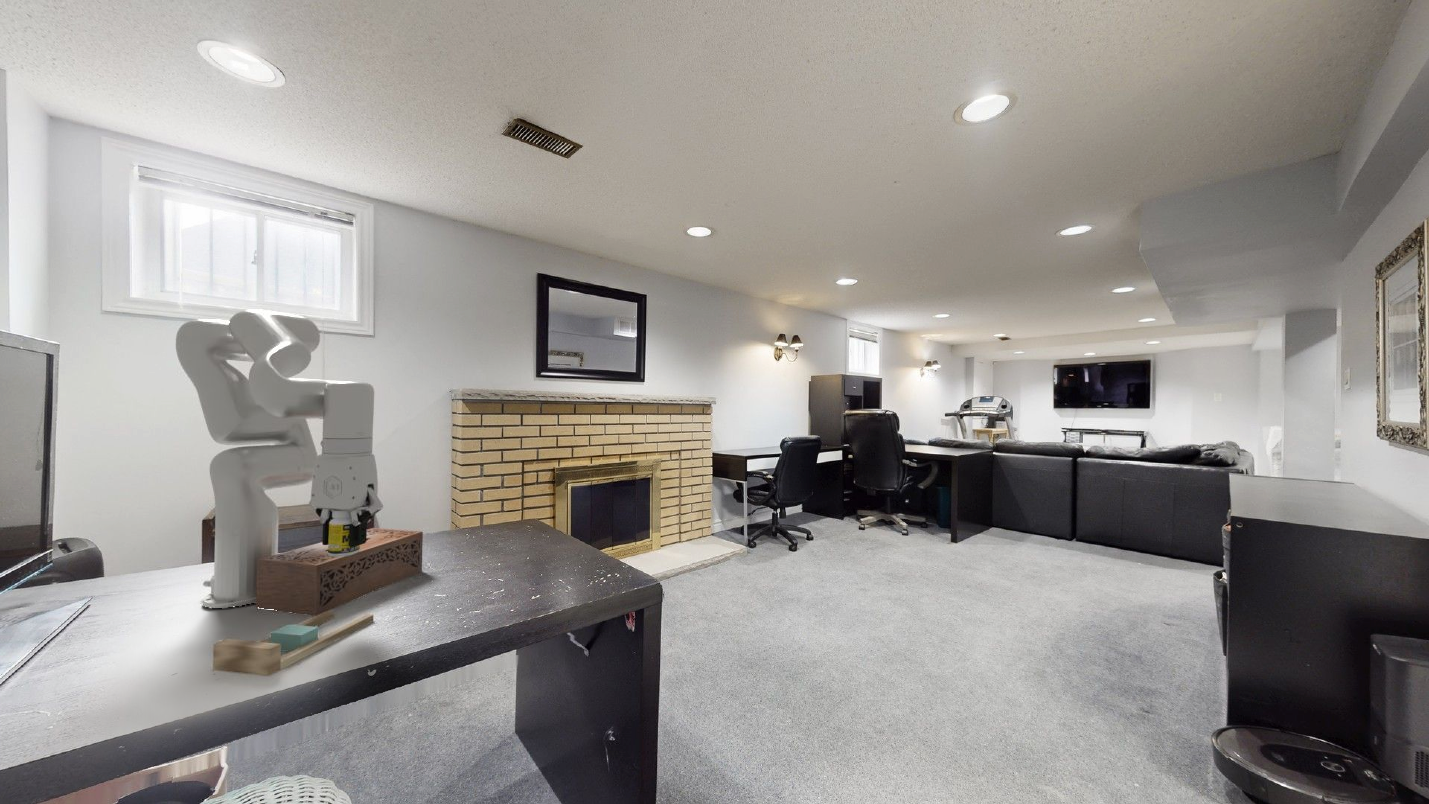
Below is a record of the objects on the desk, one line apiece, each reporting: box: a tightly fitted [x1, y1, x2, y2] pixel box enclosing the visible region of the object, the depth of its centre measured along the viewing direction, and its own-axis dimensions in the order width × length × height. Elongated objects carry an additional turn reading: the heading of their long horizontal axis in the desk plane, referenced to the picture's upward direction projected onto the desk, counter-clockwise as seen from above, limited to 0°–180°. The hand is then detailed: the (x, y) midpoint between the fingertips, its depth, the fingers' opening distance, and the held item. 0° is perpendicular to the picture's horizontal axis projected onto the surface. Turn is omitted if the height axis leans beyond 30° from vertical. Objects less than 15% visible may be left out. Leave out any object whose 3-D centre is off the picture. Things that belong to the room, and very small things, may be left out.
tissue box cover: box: [255, 527, 424, 617], centre depth 106 cm, size 26×14×10 cm, turn 169°
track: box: [212, 610, 374, 677], centre depth 82 cm, size 10×19×4 cm, turn 172°
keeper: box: [269, 624, 319, 652], centre depth 81 cm, size 6×3×3 cm, turn 82°
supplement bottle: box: [328, 510, 360, 557], centre depth 90 cm, size 5×5×8 cm
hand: (344, 543), depth 90 cm, fingers closed on supplement bottle, 4 cm apart
